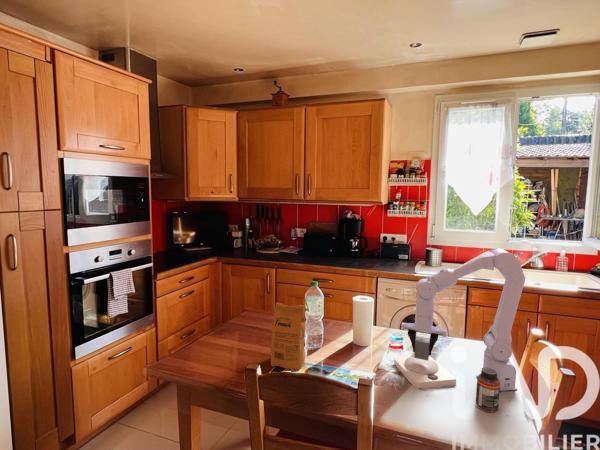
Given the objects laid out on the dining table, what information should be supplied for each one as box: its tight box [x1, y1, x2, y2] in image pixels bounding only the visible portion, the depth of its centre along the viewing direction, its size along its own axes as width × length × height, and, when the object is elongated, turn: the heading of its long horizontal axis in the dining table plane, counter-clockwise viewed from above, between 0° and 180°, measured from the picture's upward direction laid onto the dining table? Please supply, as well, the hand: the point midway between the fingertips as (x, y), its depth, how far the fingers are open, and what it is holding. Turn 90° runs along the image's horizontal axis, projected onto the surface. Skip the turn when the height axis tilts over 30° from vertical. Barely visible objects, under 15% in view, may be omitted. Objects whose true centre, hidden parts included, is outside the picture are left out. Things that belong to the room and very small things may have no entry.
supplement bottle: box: [475, 367, 501, 413], centre depth 104 cm, size 6×6×11 cm
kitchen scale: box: [393, 355, 457, 390], centre depth 122 cm, size 16×14×3 cm
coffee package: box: [270, 301, 306, 371], centre depth 127 cm, size 10×12×22 cm
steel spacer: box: [413, 335, 430, 361], centre depth 123 cm, size 4×4×6 cm
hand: (422, 352), depth 123 cm, fingers closed on steel spacer, 4 cm apart
